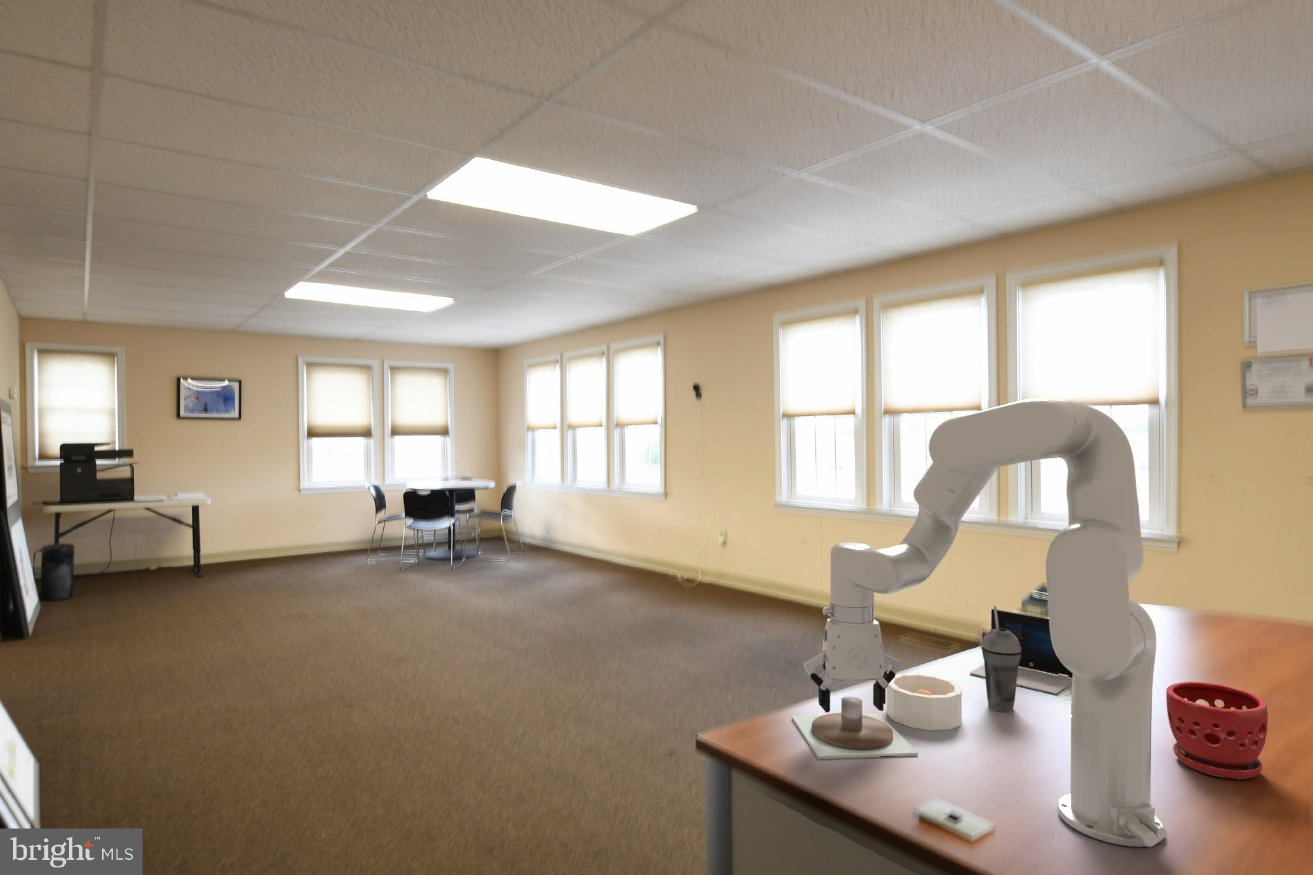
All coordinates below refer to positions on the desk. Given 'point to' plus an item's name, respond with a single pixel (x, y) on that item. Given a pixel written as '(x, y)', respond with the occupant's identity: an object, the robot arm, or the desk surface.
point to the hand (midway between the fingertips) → (851, 708)
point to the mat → (830, 752)
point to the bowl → (925, 702)
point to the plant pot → (1217, 728)
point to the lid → (852, 728)
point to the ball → (923, 692)
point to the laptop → (1033, 653)
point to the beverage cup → (1001, 667)
